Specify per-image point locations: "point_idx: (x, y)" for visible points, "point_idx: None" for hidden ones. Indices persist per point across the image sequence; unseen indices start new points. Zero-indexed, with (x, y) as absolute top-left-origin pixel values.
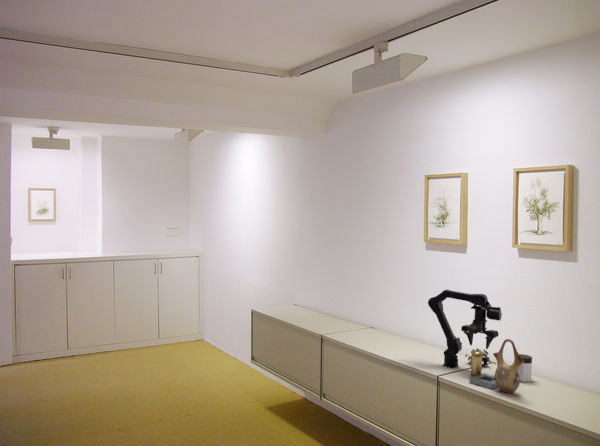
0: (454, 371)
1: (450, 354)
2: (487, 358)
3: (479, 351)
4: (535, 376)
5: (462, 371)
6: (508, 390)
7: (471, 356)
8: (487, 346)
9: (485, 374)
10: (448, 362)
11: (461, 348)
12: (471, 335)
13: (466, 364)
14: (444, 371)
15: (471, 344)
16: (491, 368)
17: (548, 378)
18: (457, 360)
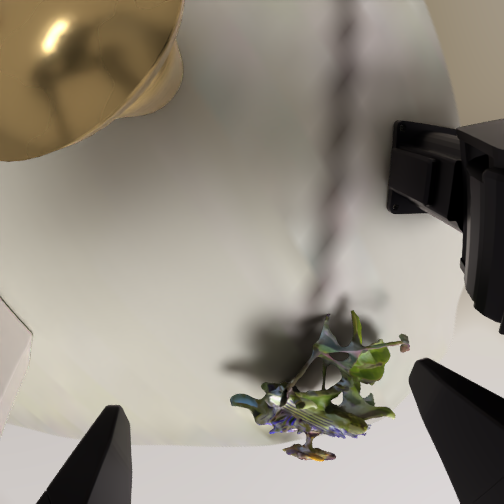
0: (345, 62)
1: (487, 128)
2: (263, 411)
3: (20, 108)
4: (33, 413)
5: (308, 117)
6: None
7: (373, 364)
8: (81, 445)
9: None
10: (447, 135)
11: (473, 293)
12: (493, 491)
13: (370, 303)
14: (384, 8)
15: (417, 381)
16: (221, 370)
17: (7, 421)
18: (417, 190)
